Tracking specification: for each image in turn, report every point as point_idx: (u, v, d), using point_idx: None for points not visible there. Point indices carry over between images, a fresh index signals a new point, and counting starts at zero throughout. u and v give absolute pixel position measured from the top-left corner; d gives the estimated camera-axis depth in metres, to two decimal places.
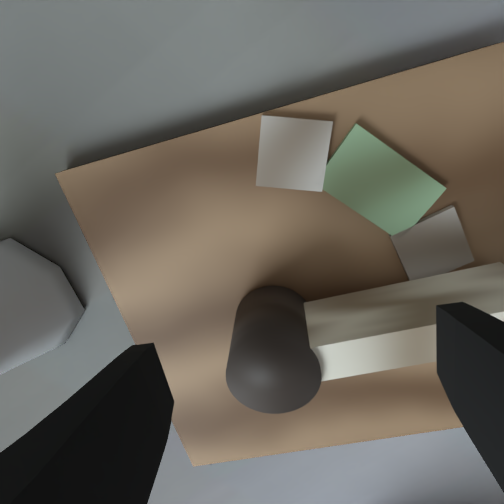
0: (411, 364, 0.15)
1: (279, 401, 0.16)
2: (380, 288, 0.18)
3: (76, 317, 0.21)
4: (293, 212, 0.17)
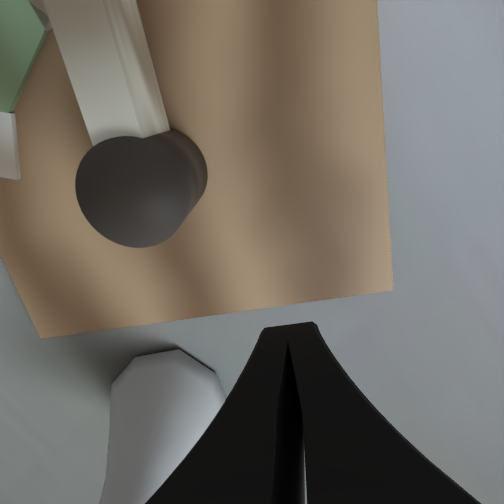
0: (105, 8, 0.11)
1: (166, 190, 0.13)
2: None
3: (180, 358, 0.22)
4: (42, 143, 0.17)
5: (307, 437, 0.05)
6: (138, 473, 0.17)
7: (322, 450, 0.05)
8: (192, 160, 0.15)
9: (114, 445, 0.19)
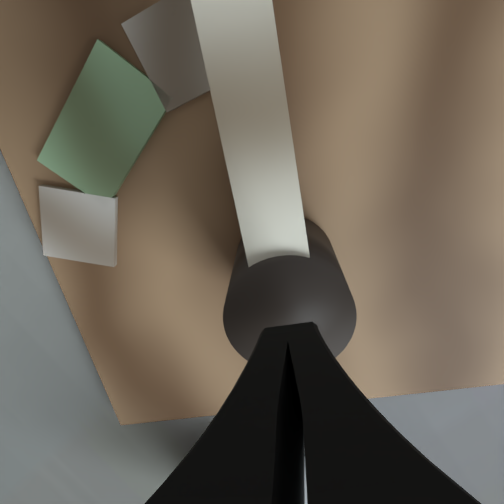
0: None
1: (333, 315, 0.11)
2: None
3: None
4: (145, 227, 0.15)
5: (307, 437, 0.05)
6: None
7: (322, 450, 0.05)
8: None
9: None
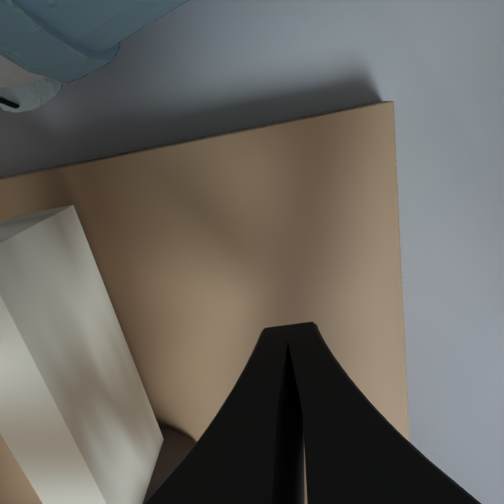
0: (80, 448, 0.09)
1: None
2: None
3: None
4: None
5: (307, 437, 0.05)
6: None
7: (322, 450, 0.05)
8: None
9: None
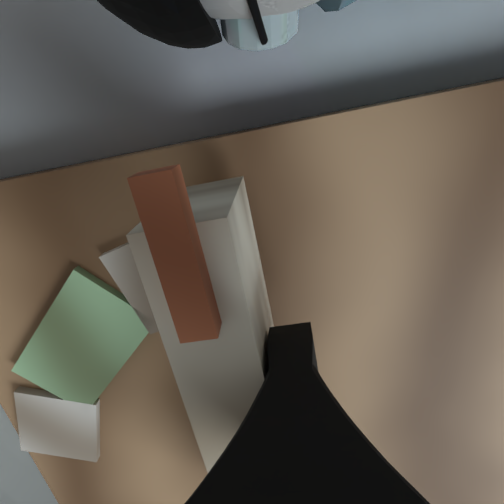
0: None
1: None
2: None
3: None
4: (130, 426, 0.14)
5: (274, 440, 0.05)
6: None
7: (287, 453, 0.05)
8: None
9: None
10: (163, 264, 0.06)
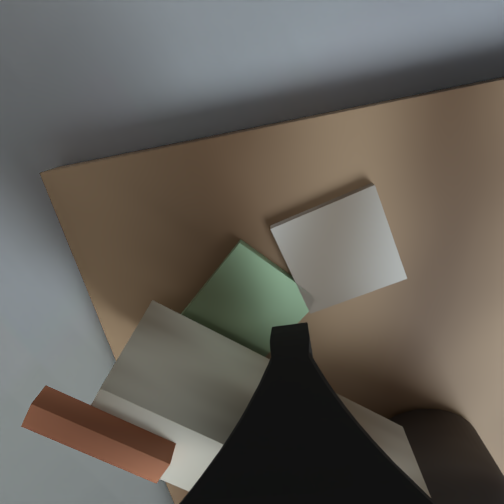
0: None
1: None
2: None
3: None
4: None
5: (278, 440, 0.05)
6: None
7: (291, 453, 0.05)
8: (478, 468, 0.11)
9: None
10: (91, 450, 0.08)
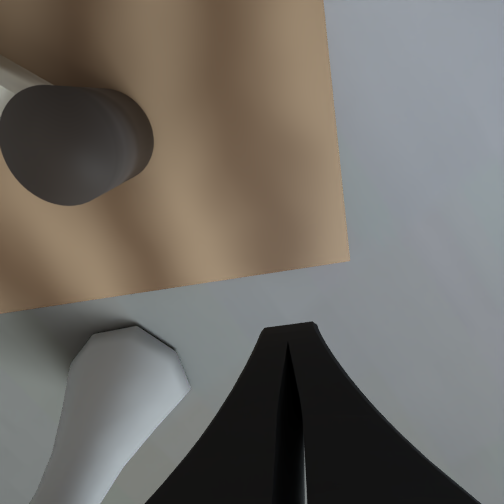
0: None
1: (70, 114, 0.12)
2: None
3: (138, 334, 0.21)
4: None
5: (307, 437, 0.05)
6: (82, 447, 0.17)
7: (322, 450, 0.05)
8: (91, 88, 0.14)
9: (64, 421, 0.19)
10: None
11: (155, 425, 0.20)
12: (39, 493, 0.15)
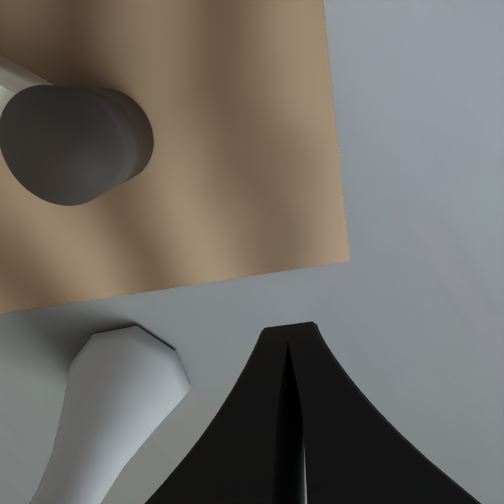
0: None
1: (70, 114, 0.12)
2: None
3: (138, 334, 0.21)
4: None
5: (307, 437, 0.05)
6: (82, 447, 0.17)
7: (322, 450, 0.05)
8: (91, 88, 0.14)
9: (64, 421, 0.19)
10: None
11: (155, 425, 0.20)
12: (39, 493, 0.15)
